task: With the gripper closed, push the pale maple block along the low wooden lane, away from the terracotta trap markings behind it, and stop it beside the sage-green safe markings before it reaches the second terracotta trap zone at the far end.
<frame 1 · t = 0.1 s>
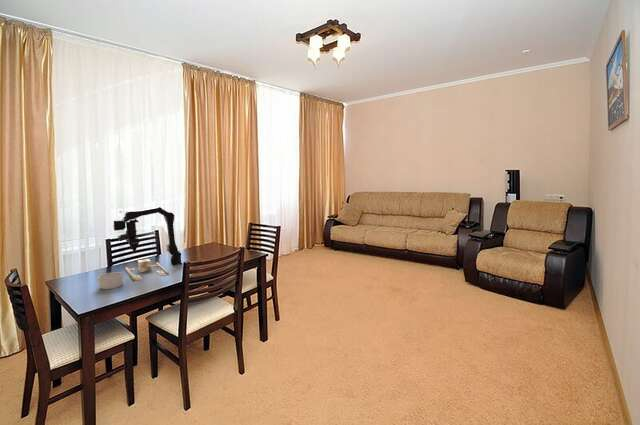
hand: (133, 250, 233), 14 cm above the table, fingers open, 9 cm apart
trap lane: (146, 271, 232), on the table
maple block: (144, 270, 237), on the table
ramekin: (111, 286, 204), on the table
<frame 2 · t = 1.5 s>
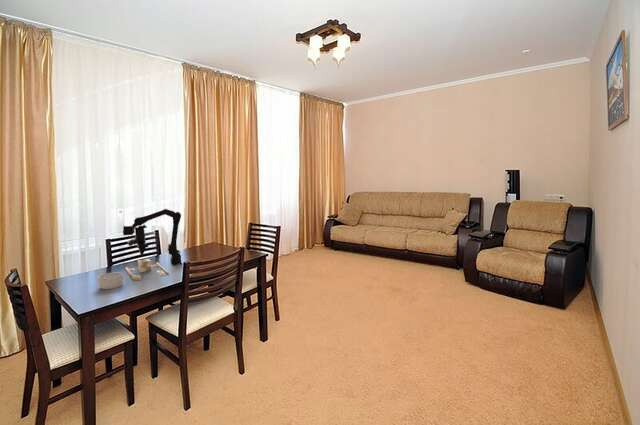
hand: (141, 255, 242), 9 cm above the table, fingers closed
nothing on the table moved.
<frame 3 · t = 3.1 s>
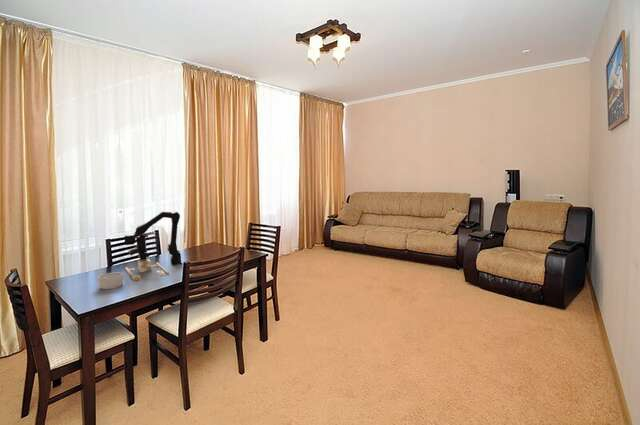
hand: (142, 264, 240), 3 cm above the table, fingers closed
maple block: (144, 270, 236), on the table, touching gripper
everything else where it was.
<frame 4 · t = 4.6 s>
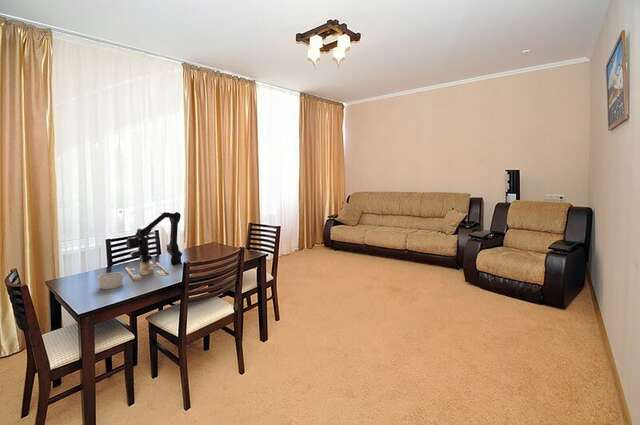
hand: (145, 267, 234), 3 cm above the table, fingers closed
maple block: (147, 272, 230), on the table, touching gripper
everything else where it was.
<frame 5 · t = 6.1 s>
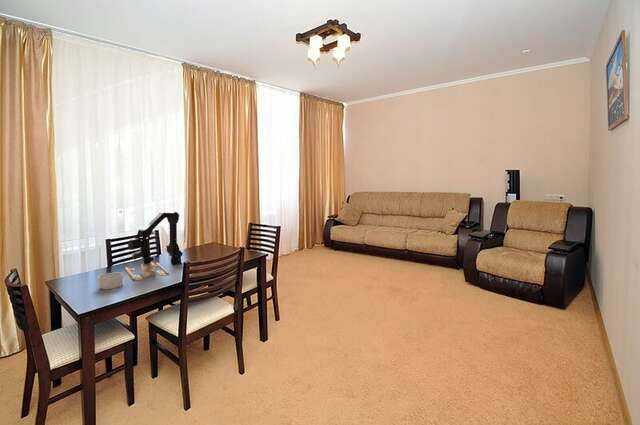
hand: (146, 268, 230), 3 cm above the table, fingers closed
maple block: (148, 274, 226), on the table, touching gripper
everything else where it was.
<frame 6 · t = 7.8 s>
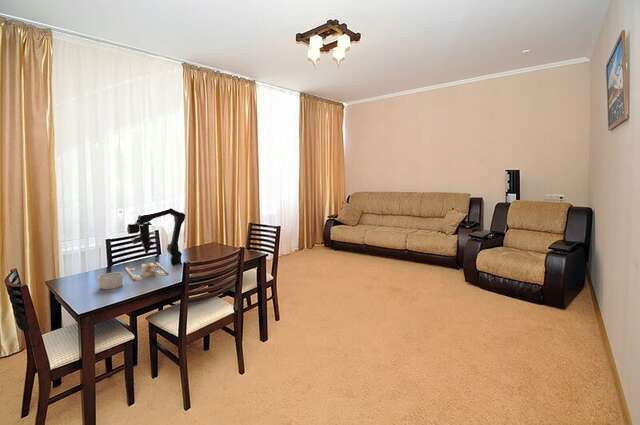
hand: (146, 253, 236), 12 cm above the table, fingers closed
maple block: (148, 274, 226), on the table
everything else where it was.
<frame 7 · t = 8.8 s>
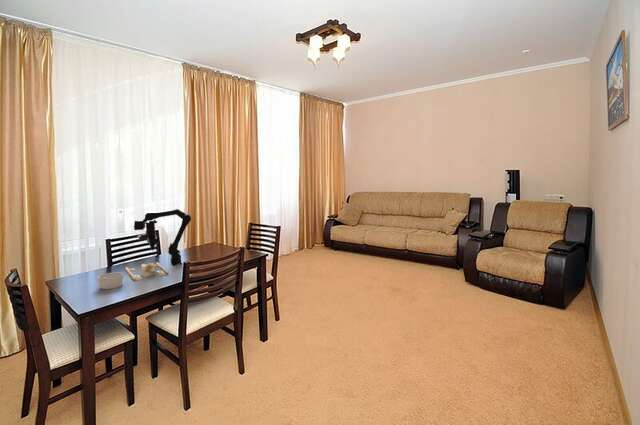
hand: (152, 250, 245), 12 cm above the table, fingers closed
nothing on the table moved.
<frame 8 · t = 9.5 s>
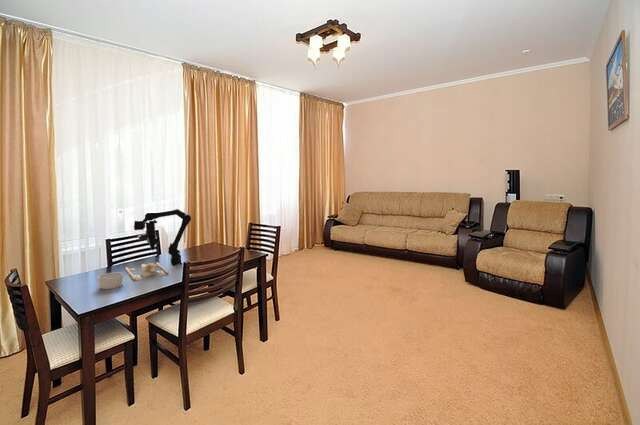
hand: (152, 250, 245), 12 cm above the table, fingers closed
nothing on the table moved.
at the end: maple block inside the target area (0.5 cm from its centre), on the table; maple block tilted 0°; maple block moved 13.5 cm from its start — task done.
